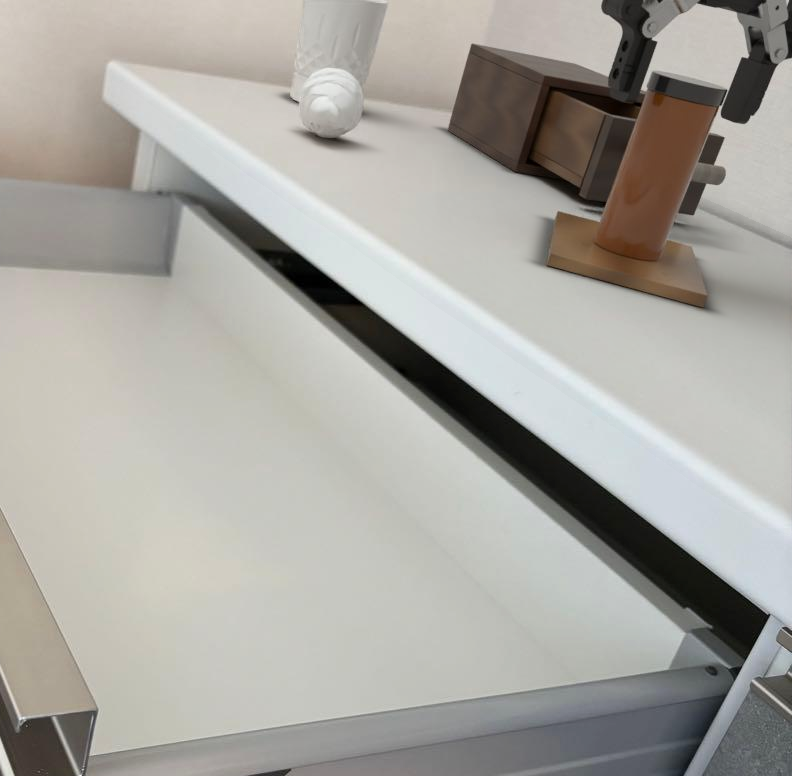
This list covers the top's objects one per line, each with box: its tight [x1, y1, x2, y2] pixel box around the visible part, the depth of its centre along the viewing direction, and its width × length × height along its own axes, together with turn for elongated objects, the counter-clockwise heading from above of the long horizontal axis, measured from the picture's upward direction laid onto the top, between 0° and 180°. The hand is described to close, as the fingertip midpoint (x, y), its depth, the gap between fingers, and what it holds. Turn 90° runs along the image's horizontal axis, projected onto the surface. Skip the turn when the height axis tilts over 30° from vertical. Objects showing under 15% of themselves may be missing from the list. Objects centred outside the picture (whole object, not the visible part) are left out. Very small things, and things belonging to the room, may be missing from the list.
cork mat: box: [546, 210, 709, 308], centre depth 75 cm, size 10×14×1 cm
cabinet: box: [447, 42, 647, 181], centre depth 102 cm, size 16×12×8 cm
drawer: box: [528, 86, 727, 216], centre depth 91 cm, size 19×10×6 cm, turn 14°
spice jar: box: [593, 70, 728, 261], centre depth 72 cm, size 5×5×11 cm
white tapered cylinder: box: [289, 0, 389, 103], centre depth 105 cm, size 8×8×10 cm
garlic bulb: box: [298, 68, 365, 139], centre depth 90 cm, size 6×6×5 cm
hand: (678, 111), depth 70 cm, fingers open, 8 cm apart
